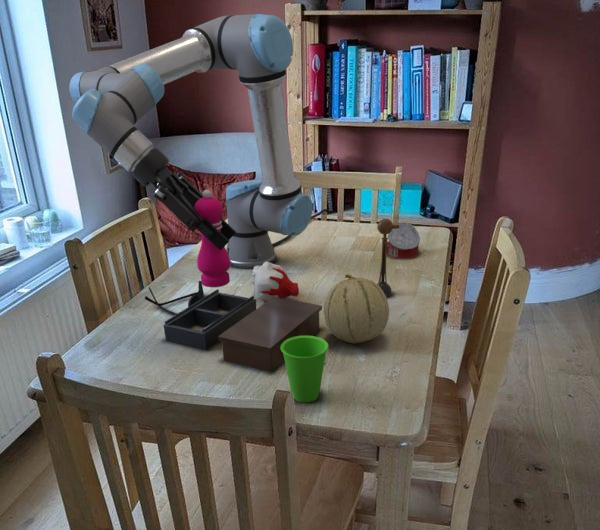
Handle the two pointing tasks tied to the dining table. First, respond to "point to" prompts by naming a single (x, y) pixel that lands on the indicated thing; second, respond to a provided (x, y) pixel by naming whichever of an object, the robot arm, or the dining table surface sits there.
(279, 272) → the red white pronged ornament
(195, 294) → the sunglasses
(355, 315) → the cantaloupe
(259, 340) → the brown lidded box
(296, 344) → the cup
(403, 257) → the canned food
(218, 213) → the pepper mill
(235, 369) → the dining table surface
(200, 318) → the black rectangular open tray
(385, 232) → the wooden tabletop sculpture
